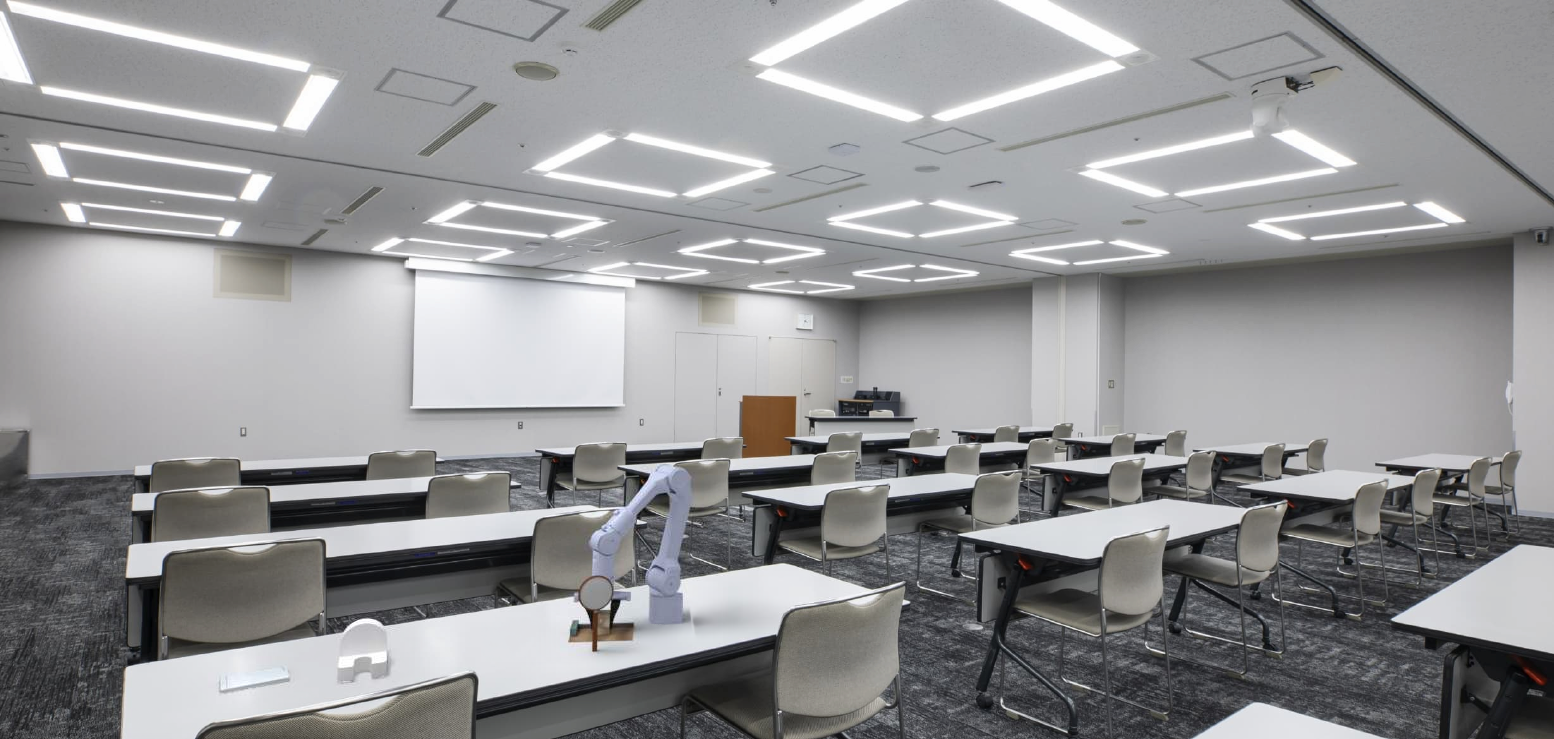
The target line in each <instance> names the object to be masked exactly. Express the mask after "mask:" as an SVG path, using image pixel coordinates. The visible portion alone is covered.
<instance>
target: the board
mask: <svg viewBox="0 0 1554 739" xmlns="http://www.w3.org/2000/svg"><path fill="white" fill-rule="evenodd" d="M634 629H635V622H632V621H631V622H613V627H612V629H610V632H609V635H597V643H598V642H630V641H633V639H634ZM592 634H593V630H591V624H590V623H580V621H579V619H575V620H574V619H573V620H572V621H571V624H570V628H569V637H568V641H567V643H592Z"/></svg>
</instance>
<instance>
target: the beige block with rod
mask: <svg viewBox="0 0 1554 739" xmlns="http://www.w3.org/2000/svg"><path fill="white" fill-rule="evenodd" d="M597 612H598V633H597V635H609V632H610V609H601V610H597Z"/></svg>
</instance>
